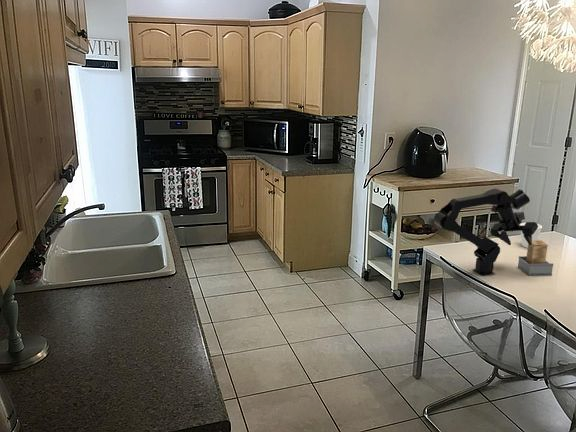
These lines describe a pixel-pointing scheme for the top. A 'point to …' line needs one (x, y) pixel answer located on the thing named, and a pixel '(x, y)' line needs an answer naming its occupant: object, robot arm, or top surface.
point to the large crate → (534, 267)
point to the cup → (534, 236)
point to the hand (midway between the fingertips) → (520, 244)
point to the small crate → (536, 252)
